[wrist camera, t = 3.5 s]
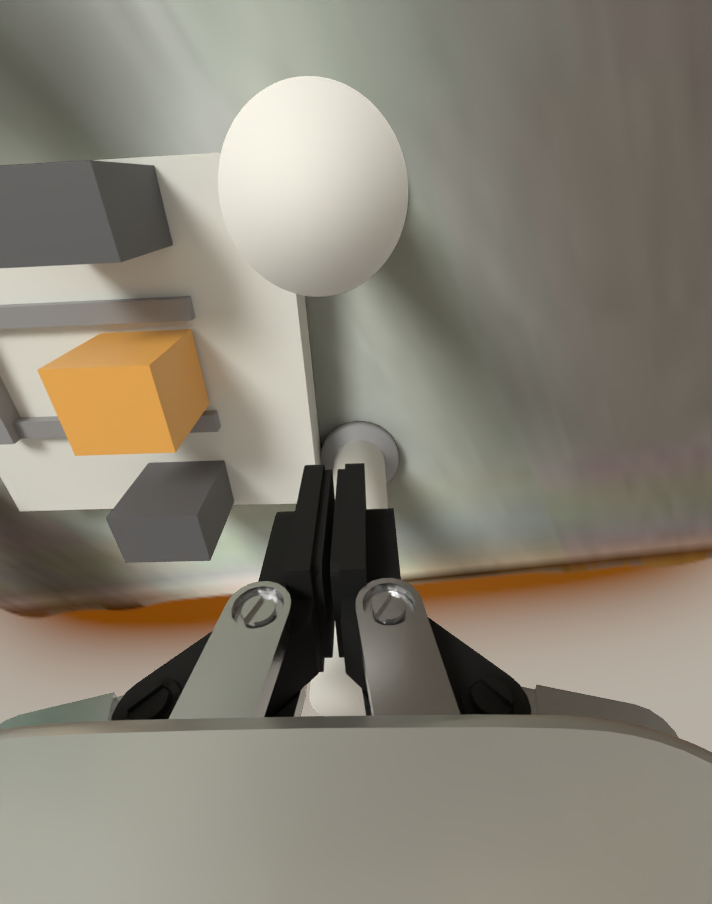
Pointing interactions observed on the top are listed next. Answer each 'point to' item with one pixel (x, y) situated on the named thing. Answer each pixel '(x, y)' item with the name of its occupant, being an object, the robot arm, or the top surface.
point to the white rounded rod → (313, 186)
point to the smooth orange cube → (128, 392)
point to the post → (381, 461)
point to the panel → (148, 309)
